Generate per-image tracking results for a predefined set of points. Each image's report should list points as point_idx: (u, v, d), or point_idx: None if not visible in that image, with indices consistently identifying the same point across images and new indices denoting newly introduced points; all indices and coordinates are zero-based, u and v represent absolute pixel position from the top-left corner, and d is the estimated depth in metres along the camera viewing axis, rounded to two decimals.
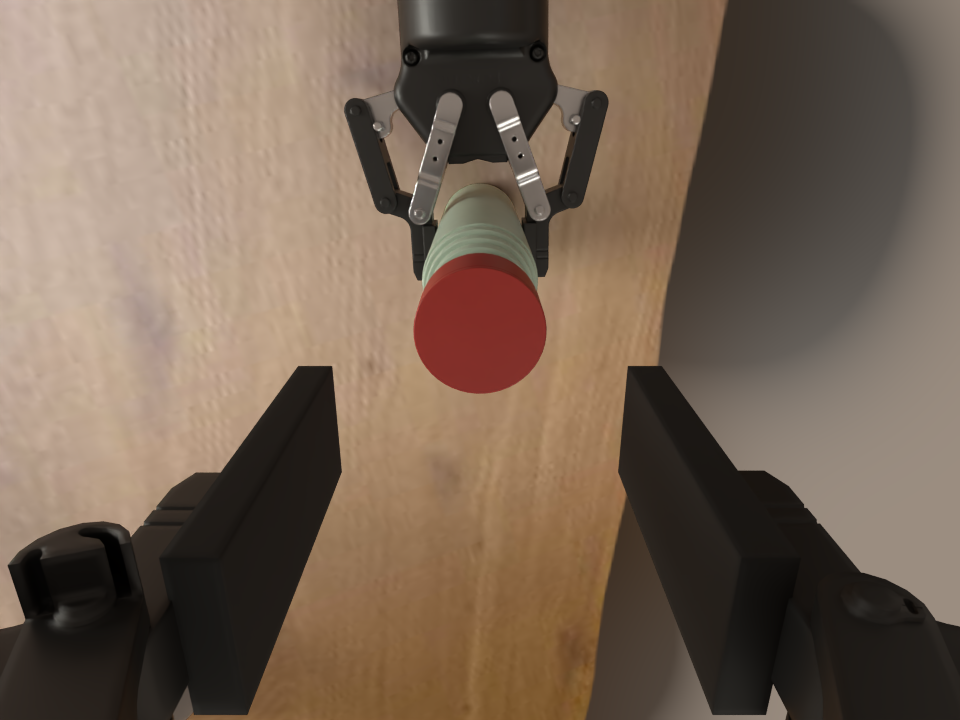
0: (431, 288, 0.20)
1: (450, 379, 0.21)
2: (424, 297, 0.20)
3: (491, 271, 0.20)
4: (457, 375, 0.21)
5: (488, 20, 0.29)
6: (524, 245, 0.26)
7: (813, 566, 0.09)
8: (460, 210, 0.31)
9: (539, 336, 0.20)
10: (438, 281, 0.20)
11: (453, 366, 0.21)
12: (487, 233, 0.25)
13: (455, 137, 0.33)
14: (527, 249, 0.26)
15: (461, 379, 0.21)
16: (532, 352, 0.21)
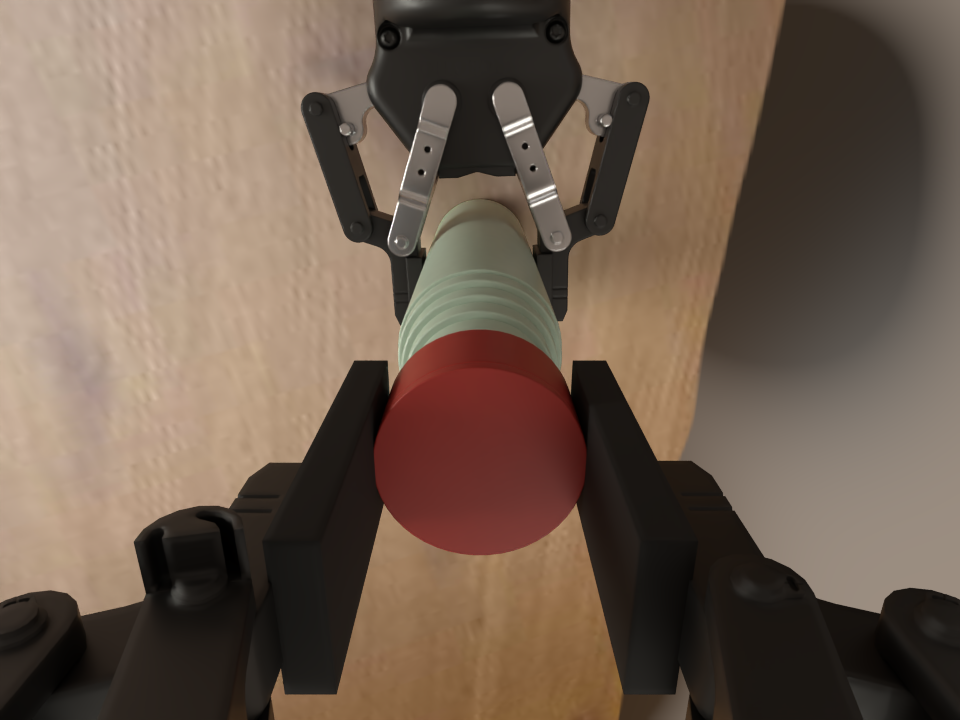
0: (400, 399, 0.12)
1: (433, 535, 0.13)
2: (388, 413, 0.12)
3: (498, 373, 0.12)
4: (444, 529, 0.13)
5: None
6: (543, 300, 0.18)
7: (720, 550, 0.09)
8: (453, 242, 0.23)
9: (576, 472, 0.13)
10: (411, 388, 0.12)
11: (437, 516, 0.13)
12: (490, 285, 0.17)
13: (447, 143, 0.25)
14: (547, 305, 0.18)
15: (450, 535, 0.13)
16: (564, 496, 0.13)
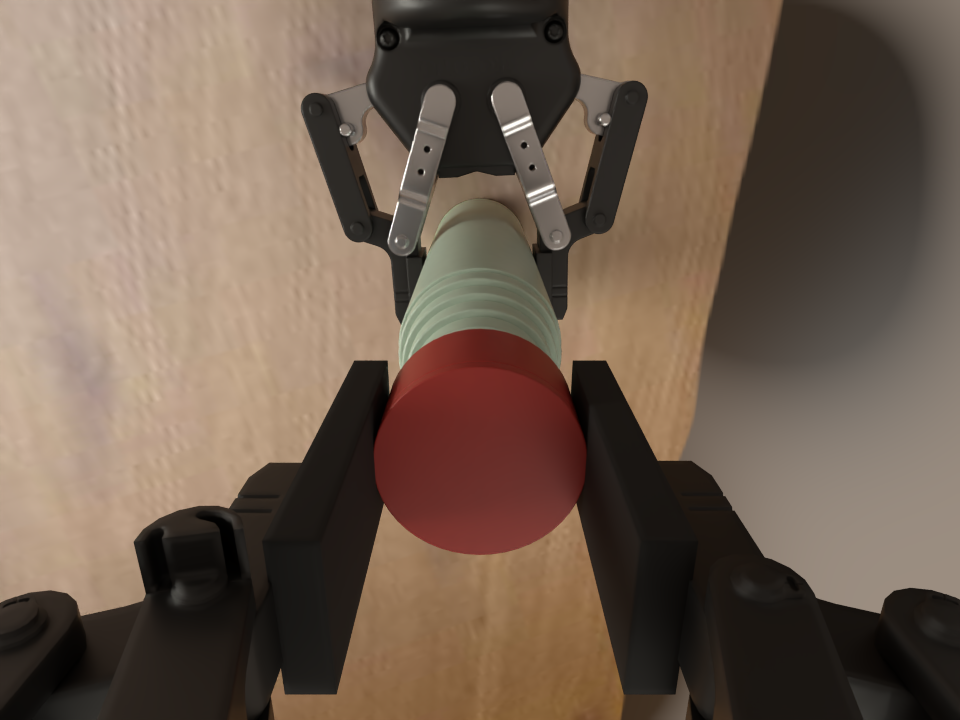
0: (435, 544, 0.13)
1: (571, 485, 0.13)
2: (452, 549, 0.13)
3: (378, 477, 0.13)
4: (561, 478, 0.13)
5: None
6: (542, 298, 0.18)
7: (720, 550, 0.09)
8: (453, 241, 0.23)
9: (454, 380, 0.12)
10: (422, 537, 0.13)
11: (547, 487, 0.13)
12: (490, 284, 0.17)
13: (447, 143, 0.25)
14: (547, 303, 0.18)
15: (566, 471, 0.13)
16: (485, 382, 0.12)
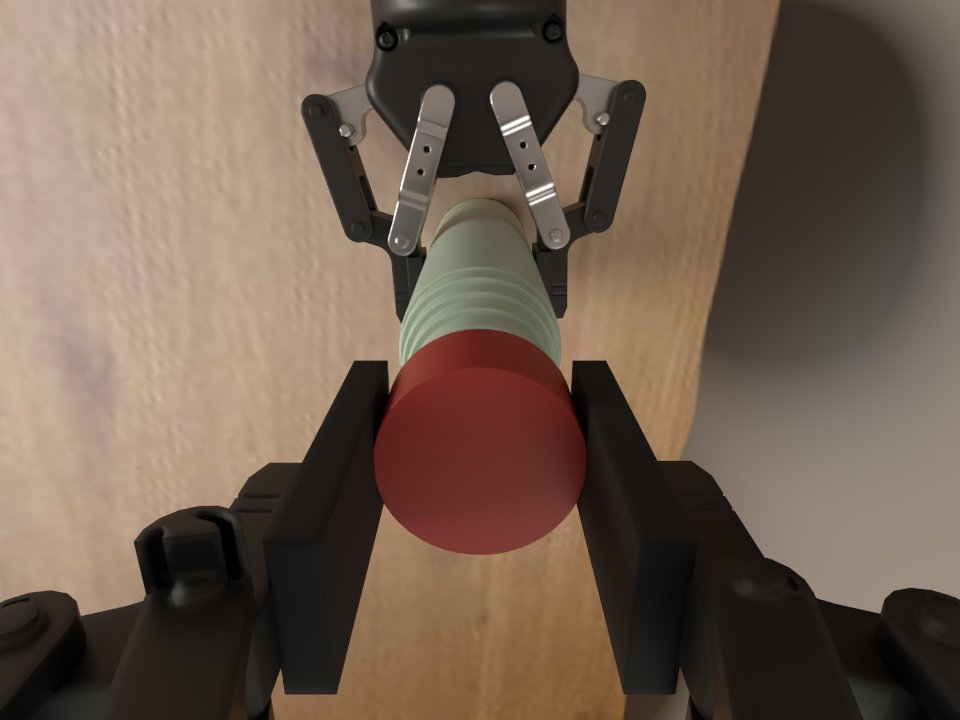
0: (584, 479, 0.13)
1: (472, 379, 0.12)
2: None
3: (521, 543, 0.13)
4: (467, 391, 0.12)
5: None
6: (542, 296, 0.19)
7: (720, 550, 0.09)
8: (453, 241, 0.23)
9: (400, 510, 0.13)
10: (580, 491, 0.13)
11: (482, 400, 0.12)
12: (489, 283, 0.17)
13: (446, 143, 0.25)
14: (546, 302, 0.19)
15: (457, 390, 0.12)
16: (391, 486, 0.13)
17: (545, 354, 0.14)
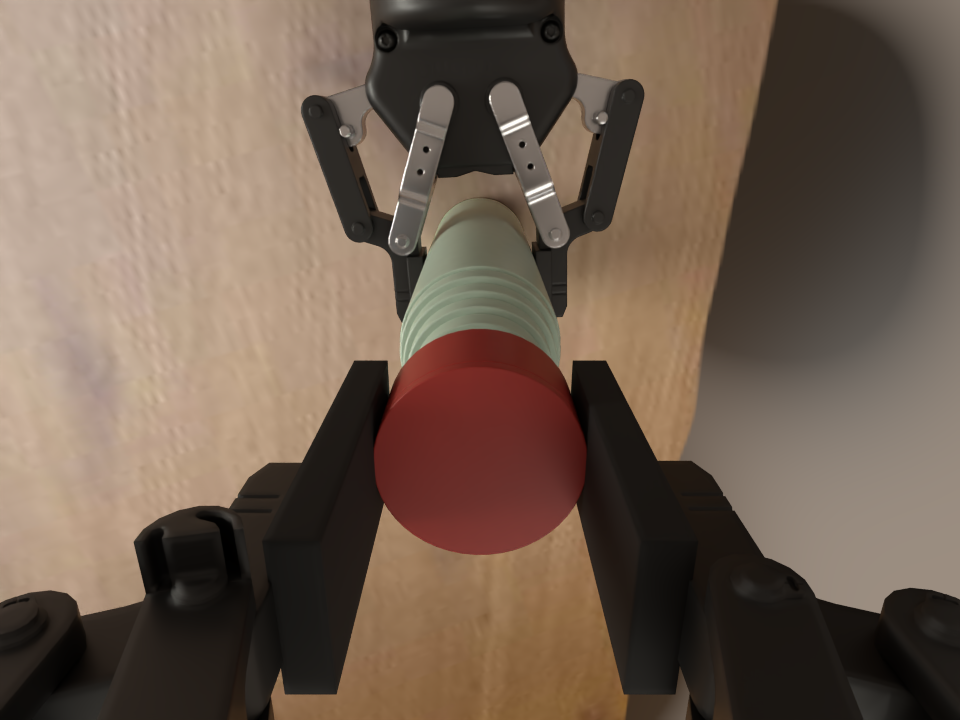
0: (462, 368, 0.12)
1: (393, 496, 0.13)
2: (443, 373, 0.12)
3: (558, 402, 0.12)
4: (407, 498, 0.13)
5: None
6: (541, 295, 0.19)
7: (720, 550, 0.09)
8: (453, 240, 0.23)
9: (551, 519, 0.13)
10: (479, 365, 0.12)
11: (411, 483, 0.13)
12: (489, 281, 0.18)
13: (446, 143, 0.25)
14: (545, 300, 0.19)
15: (408, 506, 0.13)
16: (526, 532, 0.13)
17: (394, 381, 0.14)
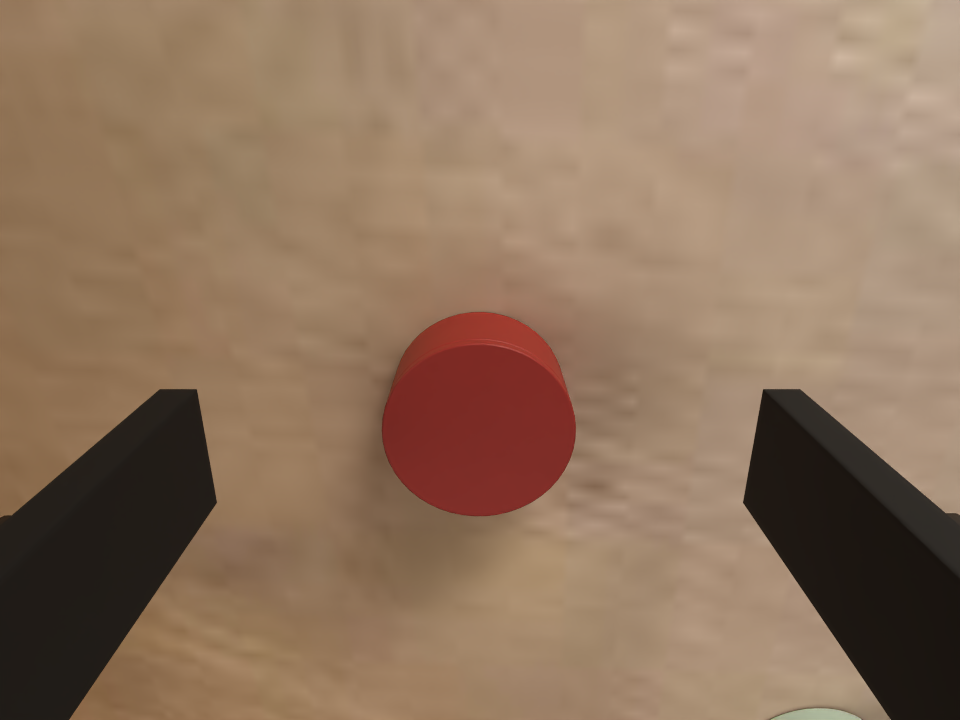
0: (462, 345, 0.13)
1: (400, 462, 0.14)
2: (445, 349, 0.13)
3: (549, 376, 0.13)
4: (413, 463, 0.14)
5: None
6: None
7: None
8: None
9: (543, 483, 0.14)
10: (477, 342, 0.13)
11: (416, 450, 0.14)
12: None
13: None
14: None
15: (414, 471, 0.14)
16: (521, 495, 0.14)
17: (401, 360, 0.16)
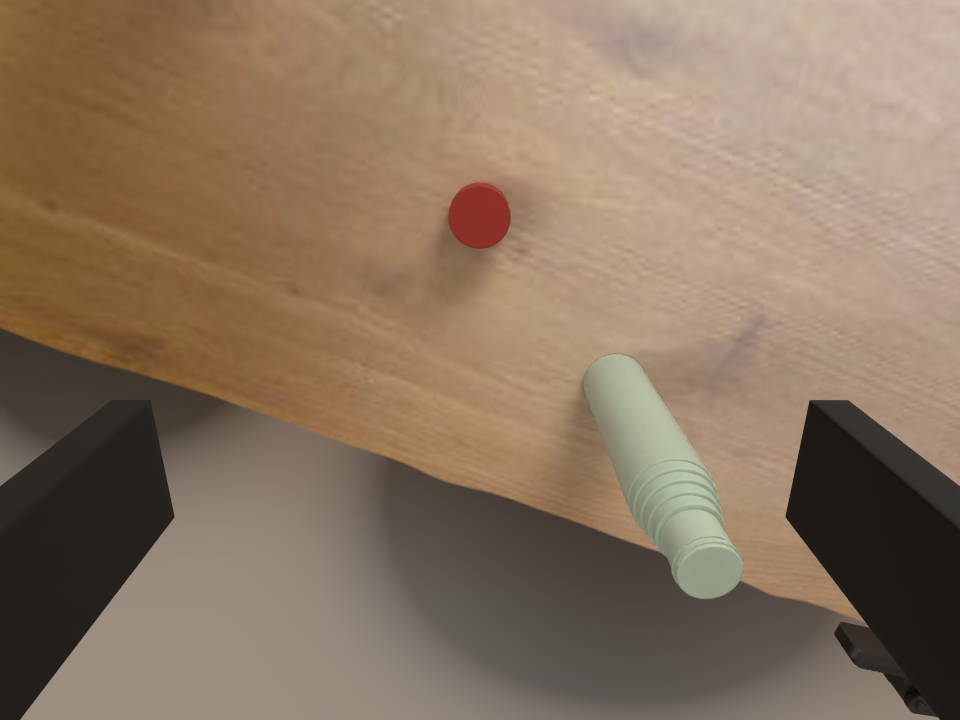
0: (474, 186, 0.43)
1: (454, 228, 0.44)
2: (469, 188, 0.43)
3: (501, 197, 0.43)
4: (458, 228, 0.44)
5: None
6: None
7: None
8: None
9: (500, 235, 0.44)
10: (479, 186, 0.43)
11: (459, 223, 0.44)
12: None
13: None
14: None
15: (458, 231, 0.44)
16: (493, 240, 0.44)
17: None
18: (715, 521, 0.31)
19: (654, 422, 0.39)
